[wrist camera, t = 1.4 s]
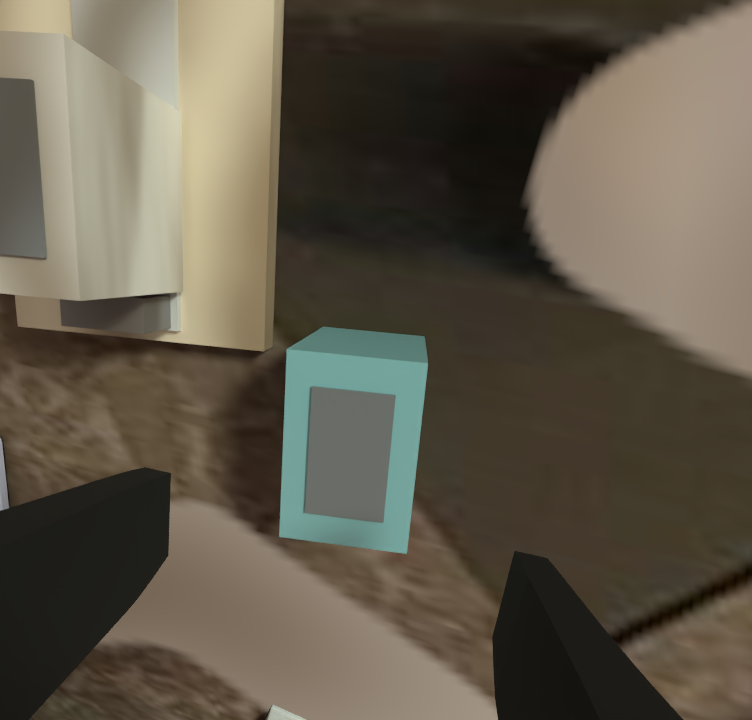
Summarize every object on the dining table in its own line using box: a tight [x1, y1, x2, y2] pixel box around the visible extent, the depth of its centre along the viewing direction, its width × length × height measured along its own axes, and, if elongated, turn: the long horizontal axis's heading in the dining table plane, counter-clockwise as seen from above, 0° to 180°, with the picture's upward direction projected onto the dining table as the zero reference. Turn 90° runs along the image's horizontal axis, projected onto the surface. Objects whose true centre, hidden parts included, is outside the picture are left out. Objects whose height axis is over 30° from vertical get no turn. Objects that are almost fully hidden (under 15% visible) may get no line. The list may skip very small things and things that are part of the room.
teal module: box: [279, 327, 428, 554], centre depth 15 cm, size 4×6×5 cm, turn 175°
